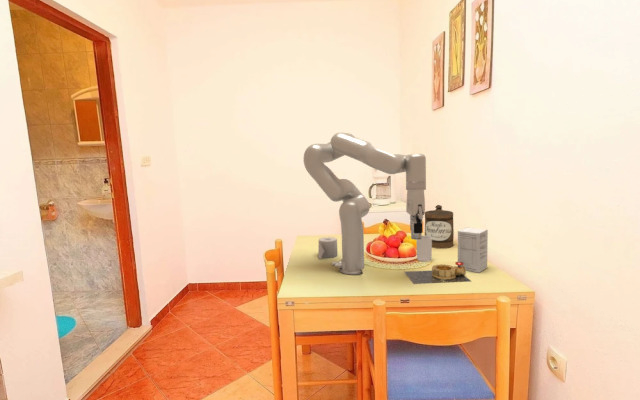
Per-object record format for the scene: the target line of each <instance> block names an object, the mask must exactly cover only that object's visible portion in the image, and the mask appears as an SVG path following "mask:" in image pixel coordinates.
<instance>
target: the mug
mask: <svg viewBox="0 0 640 400" xmlns="http://www.w3.org/2000/svg"><path fill="white" fill-rule="evenodd" d="M432 249H433V248H432V237H431V236H425V235H422V239H418V240H416V259H417V261H419V262H431V261H432V252H433V251H432Z"/></svg>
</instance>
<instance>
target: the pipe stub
mask: <svg viewBox="0 0 640 400" xmlns="http://www.w3.org/2000/svg"><path fill="white" fill-rule="evenodd" d="M416 218H417V217H416ZM410 219H411V230H410V237H411V238H410V239H411V240H414V241H415V240H416V241H417V240H418V239H422V236H423V235H422V234H423V232H422V233H416V234H415V233H414V223H415V221H414V216H412V215H411V216H410V215H409V220H410Z"/></svg>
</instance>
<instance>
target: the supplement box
mask: <svg viewBox="0 0 640 400" xmlns="http://www.w3.org/2000/svg"><path fill="white" fill-rule="evenodd" d="M488 234H489V233H488V229H483V228H476V227H475V228H474V227H465V228H463V229H462V228H461V229H459V230H458V231H457V262H463V263H464V265H460V266H464V267H465V269H466V271H468V272H472V273H473V272H474V273H477V274H478V273H481V272H482V271H484V270H486V269H487V268H488Z"/></svg>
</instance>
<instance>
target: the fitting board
mask: <svg viewBox="0 0 640 400" xmlns="http://www.w3.org/2000/svg"><path fill="white" fill-rule="evenodd" d="M455 265H456V266H452V265H448V264H435V265H432V266H431V270H413V271H412V270H411V271H404V274H405V275H406V277H408V278H409V280H410V281H411V283H412V284H413V285H422V284H423V285H424V284H443V283H444V284H446V283H468V282H470V283H471V282H472V280H471V279H469V278H468V277H467V276H466V274H467V272H466V271H467V270H466V269H465V267H464V266H460V265H464V263H463V262H458V261H455Z"/></svg>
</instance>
